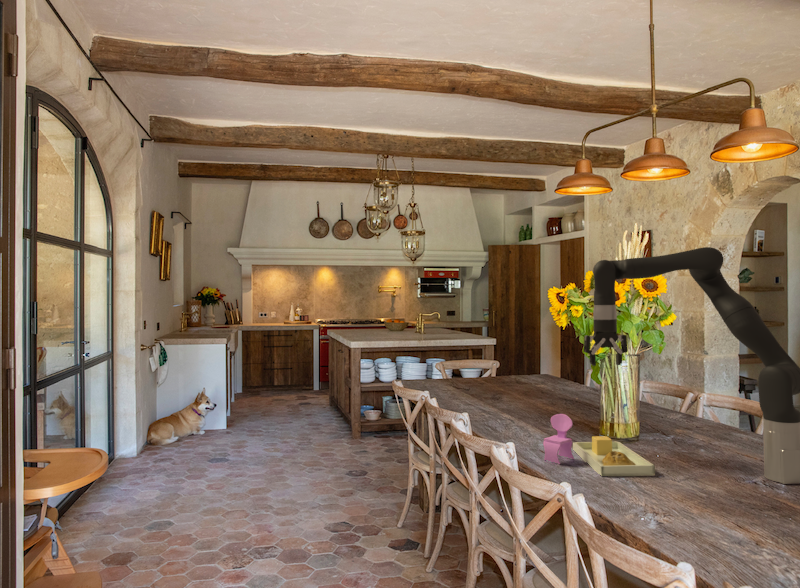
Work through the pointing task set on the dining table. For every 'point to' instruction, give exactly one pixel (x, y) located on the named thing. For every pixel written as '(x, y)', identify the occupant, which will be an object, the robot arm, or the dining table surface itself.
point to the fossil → (616, 459)
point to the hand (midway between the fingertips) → (605, 365)
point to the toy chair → (559, 439)
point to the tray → (596, 463)
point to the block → (601, 445)
